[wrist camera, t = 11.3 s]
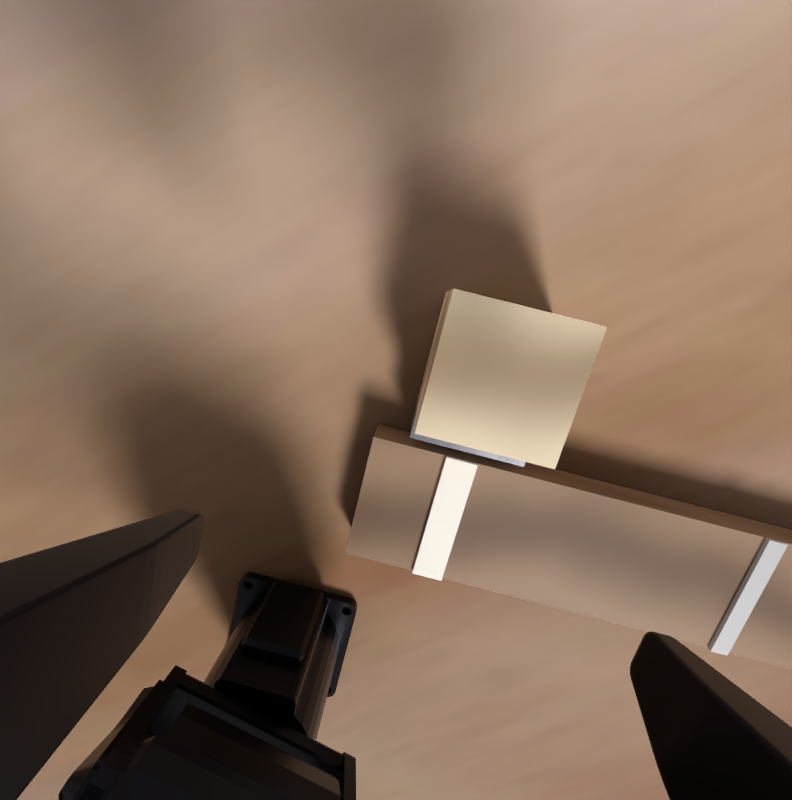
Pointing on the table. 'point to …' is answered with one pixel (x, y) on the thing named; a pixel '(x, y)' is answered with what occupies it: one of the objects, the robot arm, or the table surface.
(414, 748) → the table surface
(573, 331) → the cream cube
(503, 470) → the walnut plank
